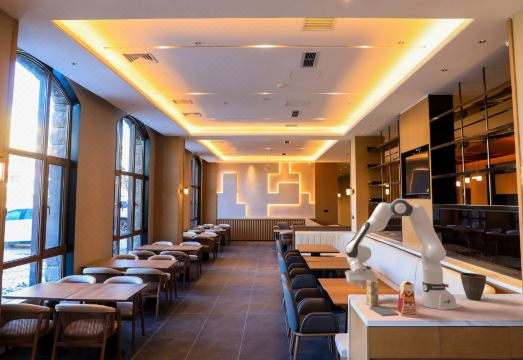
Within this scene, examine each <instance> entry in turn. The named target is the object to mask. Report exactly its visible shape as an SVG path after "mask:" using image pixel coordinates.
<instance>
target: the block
mask: <svg viewBox="0 0 523 360" xmlns="http://www.w3.org/2000/svg"><path fill="white" fill-rule="evenodd" d="M366 286H367V288H366V305H367V306H369V307H380V305H379V302H380V301H379V281H378V280H377V281H375V280H367V284H366Z"/></svg>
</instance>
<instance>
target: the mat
mask: <svg viewBox="0 0 523 360" xmlns="http://www.w3.org/2000/svg"><path fill="white" fill-rule="evenodd" d="M369 310H371V311H373V312H375V313H376V314H378V315H380V316H382V317H384V316H388V317H389V316H399V312H395V311H394V310H392V309H390V308H388V307H387V306H379V307H370V306H369Z"/></svg>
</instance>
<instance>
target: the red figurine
mask: <svg viewBox="0 0 523 360" xmlns="http://www.w3.org/2000/svg"><path fill="white" fill-rule="evenodd" d="M396 313H398V314H399V315H400V316H401V317H411V316H412V317H413V318H419V312H418V309H417V302H416V297H415V287H414V284H413V283H412V282H410V281H409V279H408V278H407V279H402V282H401V283H400V284H399V290H398V298H397V312H396Z"/></svg>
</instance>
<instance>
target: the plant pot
mask: <svg viewBox="0 0 523 360" xmlns="http://www.w3.org/2000/svg"><path fill="white" fill-rule="evenodd" d="M459 274H460V280H461V285H462V288H463V292H464V294H465V297H466V298H467V300H470V301H478V302H479V301H481V299H482V296H483V294H484V291H485V288H486V287H485V286H486V282H487V276H486V274H485V275H484V274H481V273H473V272H461V273H459Z"/></svg>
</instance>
